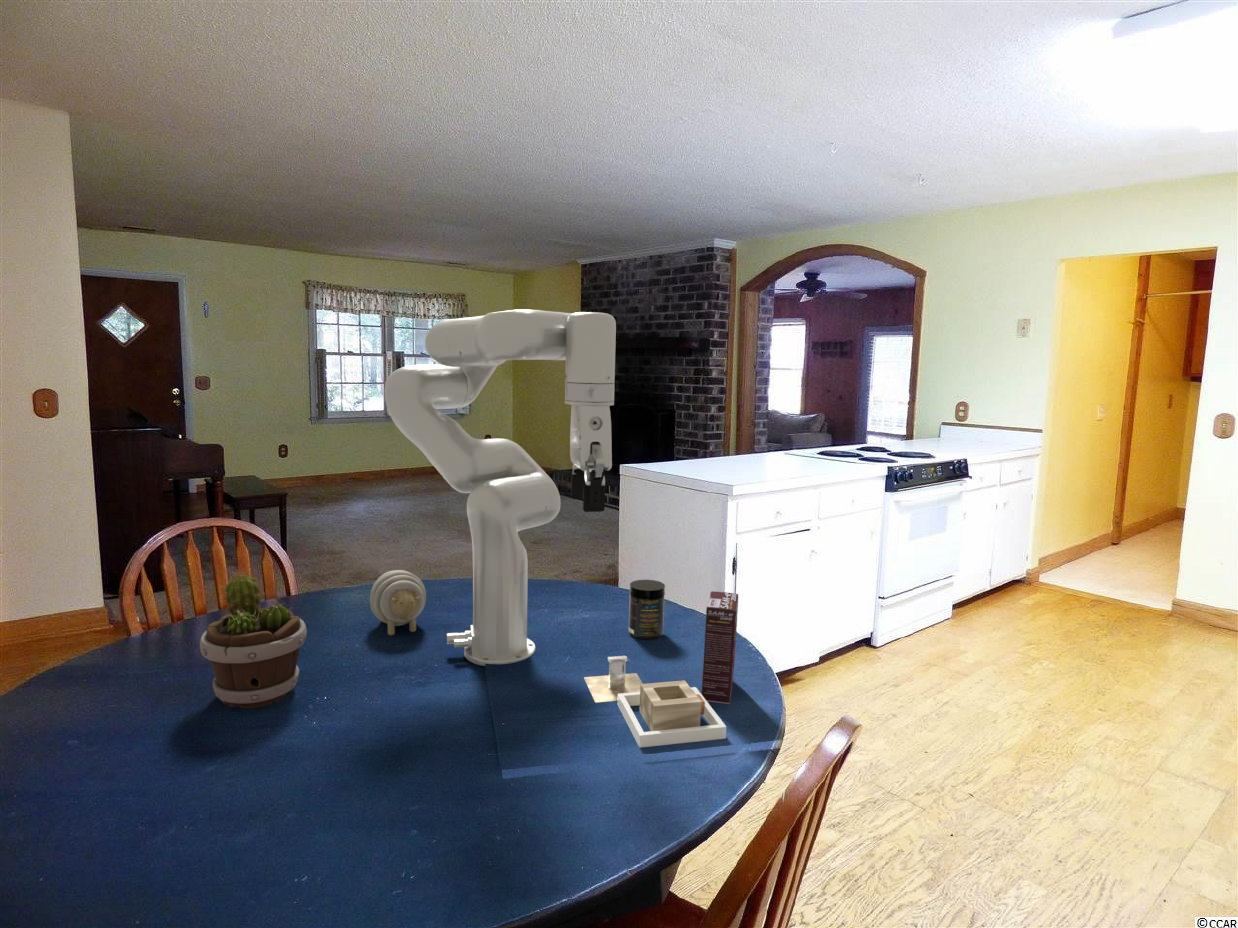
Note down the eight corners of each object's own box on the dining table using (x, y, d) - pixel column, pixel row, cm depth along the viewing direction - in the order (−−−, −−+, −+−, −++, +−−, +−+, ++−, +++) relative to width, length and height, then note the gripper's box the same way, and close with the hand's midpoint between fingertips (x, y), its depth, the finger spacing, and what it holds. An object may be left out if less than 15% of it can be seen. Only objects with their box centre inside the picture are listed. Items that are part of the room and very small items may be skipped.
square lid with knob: (595, 707, 113) (596, 671, 112) (583, 681, 121) (584, 648, 120) (651, 702, 115) (652, 667, 114) (636, 677, 124) (637, 644, 123)
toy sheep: (382, 645, 134) (380, 586, 132) (359, 616, 148) (358, 563, 146) (438, 635, 139) (438, 578, 138) (412, 608, 154) (411, 556, 152)
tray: (639, 752, 100) (639, 735, 100) (617, 709, 112) (617, 693, 112) (725, 743, 103) (726, 726, 103) (695, 701, 115) (695, 686, 115)
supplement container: (670, 640, 140) (672, 587, 139) (639, 646, 137) (641, 592, 135) (651, 628, 146) (652, 577, 144) (621, 634, 143) (623, 582, 141)
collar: (709, 729, 106) (711, 700, 105) (653, 735, 104) (654, 705, 103) (692, 707, 112) (694, 679, 112) (639, 712, 110) (640, 684, 110)
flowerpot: (327, 694, 115) (323, 570, 112) (221, 728, 103) (214, 591, 100) (287, 665, 124) (282, 550, 121) (187, 694, 113) (179, 568, 110)
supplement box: (731, 708, 114) (736, 610, 111) (700, 705, 114) (704, 607, 112) (734, 684, 122) (739, 592, 120) (704, 681, 123) (709, 590, 120)
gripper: (627, 399, 105) (624, 516, 107) (601, 392, 121) (598, 493, 124) (575, 398, 103) (573, 517, 106) (556, 391, 120) (554, 494, 122)
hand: (587, 504), depth 115 cm, fingers open, 9 cm apart
